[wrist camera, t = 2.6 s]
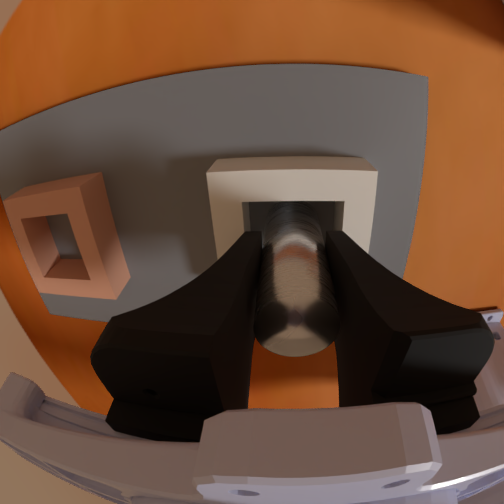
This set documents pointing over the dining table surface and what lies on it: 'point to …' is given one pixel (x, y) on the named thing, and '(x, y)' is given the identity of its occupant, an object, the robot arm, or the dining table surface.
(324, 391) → the dining table surface
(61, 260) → the socket
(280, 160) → the pin mount
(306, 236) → the lock pin
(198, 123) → the board
